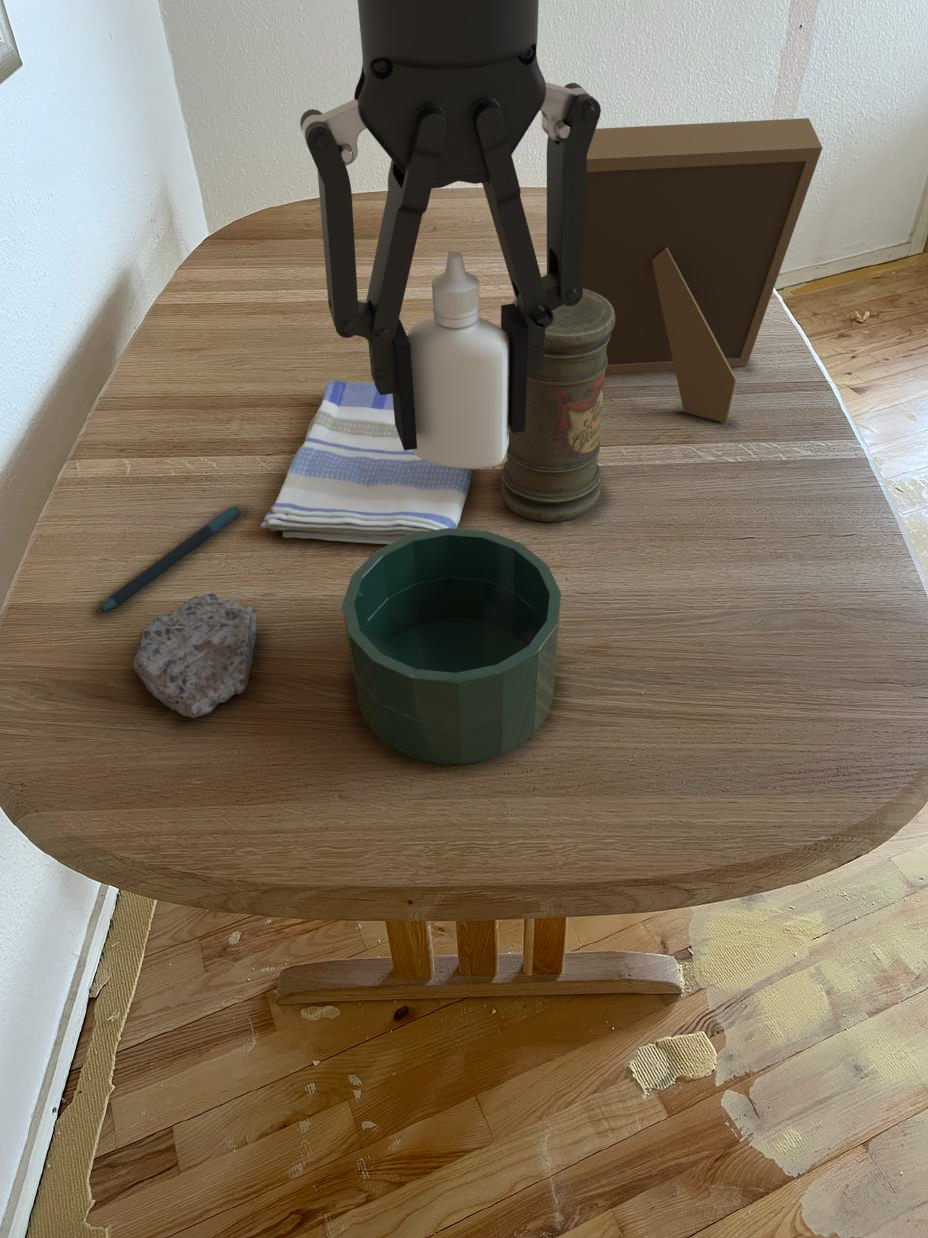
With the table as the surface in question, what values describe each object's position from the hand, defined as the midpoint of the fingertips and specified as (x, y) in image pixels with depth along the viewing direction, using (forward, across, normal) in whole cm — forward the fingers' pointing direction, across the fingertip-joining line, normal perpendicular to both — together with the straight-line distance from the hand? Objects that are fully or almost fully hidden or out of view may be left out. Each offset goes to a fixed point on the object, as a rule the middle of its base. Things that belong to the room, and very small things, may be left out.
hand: (459, 427), depth 53 cm
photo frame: (+22, -29, -34) cm, 49 cm away
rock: (+22, +19, -6) cm, 30 cm away
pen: (+22, +21, -19) cm, 36 cm away
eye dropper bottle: (+2, 0, 0) cm, 2 cm away
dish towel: (+22, +1, -27) cm, 35 cm away
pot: (+22, +1, +1) cm, 22 cm away
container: (+22, -13, -19) cm, 32 cm away
